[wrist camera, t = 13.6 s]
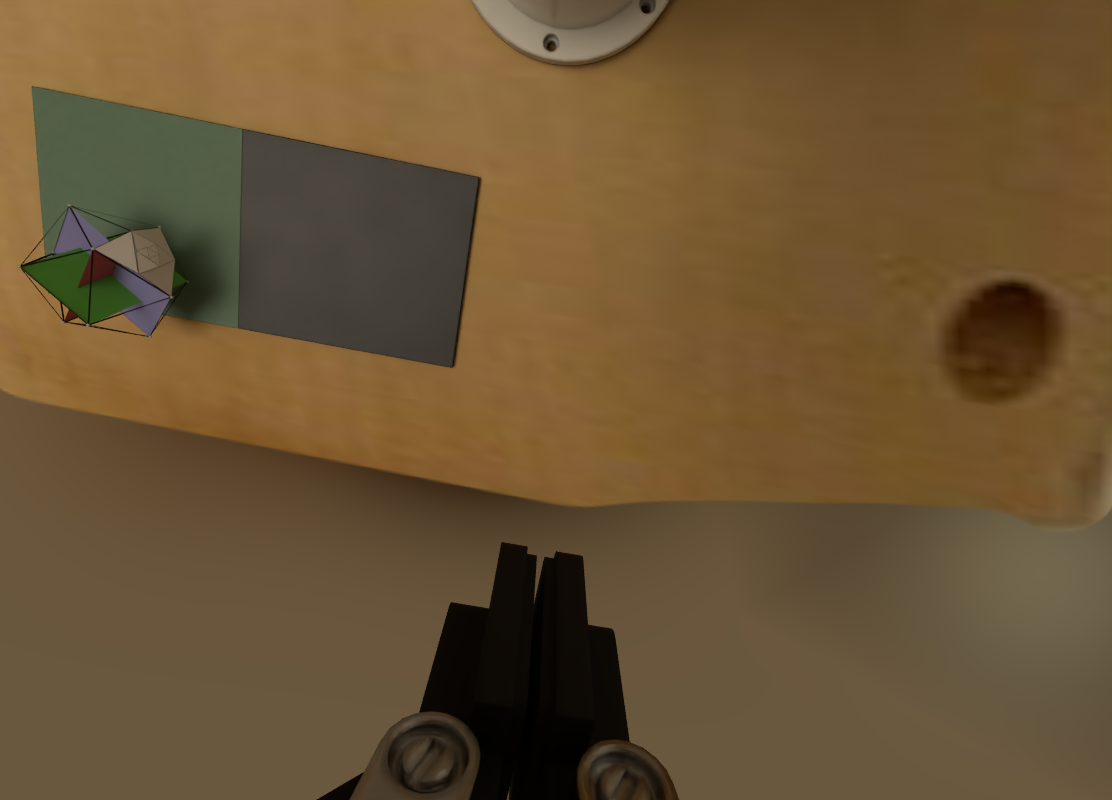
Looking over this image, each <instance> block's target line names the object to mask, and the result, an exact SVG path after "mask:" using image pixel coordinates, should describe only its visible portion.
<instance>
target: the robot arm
mask: <svg viewBox="0 0 1112 800" xmlns="http://www.w3.org/2000/svg"><path fill="white" fill-rule="evenodd" d="M471 1H472V3H473V5H474V6H475V8H476V10H477V11H478V13H479V15H480V16H481V18H482V19H483V20H484V21H485V22H486V24H487V25H488V26H489V27H490V28H491V29H492V31H493V32H494V33H495V34H496V35H497V36H498V37H500V38H501V39H502V40H503V41H505V42H506V43H507V44H508V45H510V46H511V47H512V48H513V49H515V50H517V51H519V52H521V53H523V54H525V55H527V56H529V57H531V58H533V59H536V60H539V61H543V62H547V63H550V64H554V65H574V66H575V65H581V64H588V63H594V62H597V61H600V60H603V59H605V58H608V57H610V56H613V55H615V54H617V53H619V52H620V51H622V50H623V49H625V48H626V47H628V46H630V45H631V44H633V43H634V42H635V41H637V40H638V39H639V38H640V37H641V36H642V35H643V34H644V33H645V32H646V31H647V30H648V29H649V28H650V27H651V26H652V25H653V24H654V22H655V21H656V19H657V18H658V17H659V15H660V14H661V12H662V11H663V10H664V8H665V7H666V5H667V3H668V1H669V0H471ZM644 5H646V6H648V7H649V9H650V12H649V13H648V14H645V13H643V12H642V10H641V7H642V6H644ZM549 43H554V44H555V46H556V48H555V50H554V51H549V50H548V49H547V45H548V44H549ZM527 549H528V547H527V546H521V545H515V544H510V543H504V542H502V543H501V548H500V553H499V558H498V564H497V569H496V575H495V580H494V586H493V590H492V596H491V601H490V607H489V608H483V607H477V606H471V605H465V604H458V603H452V602H451V603H450V606H449V609H448V612H447V616H446V619H445V623H444V626H443V630H442V633H441V637H440V641H439V644H438V648H437V651H436V655H435V659H434V662H433V666H432V669H431V673H430V676H429V680H428V683H427V687H426V690H425V694H424V697H423V701H422V704H421V708H420V712H419V713H416V714H413V715H410V716H408V717H405V718H403V719H401V720H400V721H399V722H397V723H396V724H395V725H393V726H392V727H391V728H390V729H389V730H388V731H387V733H386V734H385V735H384V737H383V738H382V739H381V741H380V743H379V745H378V747H377V748H376V750H375V752H374V754H373V756H372V758H371V760H370V762H369V764H368V766H367V768H366V769H365V771H364V772H363V773H361V774H360V775H358V776H356V777H354V778H353V779H351V780H349V781H348V782H346V783H344V784H343V785H341V786H339V787H338V788H336V789H334V790H333V791H331V792H329V793H327V794H326V795H324V796H322V797H321V798H319V799H317V800H507V796H508V792H509V800H679V798H678V795H677V792H676V790H675V787H674V784H673V782H672V780H671V778H670V776H669V774H668V772H667V770H666V769H665V768H664V766H663V765H662V764H661V763H660V762H659V760H658V759H657V758H656V757H655V756H653V755H652V754H651V753H649V752H648V751H647V750H645V749H644V748H642V747H640V746H638V745H636V744H633V743H631V742H630V741H629V734H628V727H627V720H626V712H625V705H624V698H623V690H622V683H621V676H620V668H619V661H618V654H617V646H616V639H615V634H614V631H613V630H612V629H610V628H604V627H598V626H592V625H588V619H587V605H586V591H585V579H584V565H583V556H580V555H574V554H568V553H562V552H557V551H556V553H555V556H554V558H549V557H545V558H544V561H543V565H542V570H541V575H540V579H539V584H538V589H537V593H536V598H535V602H534V593H535V577H536V561H537V556H536V555H531V554H527ZM509 788H510V789H509Z"/></svg>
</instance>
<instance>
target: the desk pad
mask: <svg viewBox="0 0 1112 800" xmlns="http://www.w3.org/2000/svg"><path fill="white" fill-rule="evenodd" d="M32 96H33V109H34V122H35V134H36V147H37V160H38V172H39V185H40V198H41V210H42V223H43V236H45V235H46V233H47V232H48V231H49V230H50V229H51V230H50V231H49V232H48V233H47V235H46V236H45V237H44V248H45V256H46V255H49V254H51V253H52V252H53V251H54V248H55V245H56V242H57V239H58V236H59V233H60V230H61V228H62V225H63V222H64V219H65V216H66V213H67V210H68V209H67V208H68V204H71V205H72V206H75V208H77V207H79V208H78V209H80V210H83V211H85V212H88V213H90V214H93V215H95V216H97V217H100V218H102V219H105V220H107V221H110V222H112V223H114V224H117V225H119V226H122V227H124V228H127V229H129V230H140V229H147V228H154V227H156V226H157V227H158V226H161V230H162V232H163V234H164V236H165V238H166V240H167V242H168V244H169V247H170V249H171V251H172V253H173V256H174V255H175V256H174V258H175V257H176V258H175V270H176V271H177V272H178V273H179V274H180V275H182V276H183V277H184V278H185V277H186V278H185V279H187V281H189V283H186V285H185V286H183V285H184V284H185V283H183V284H181V285H179V286H177V287H174V288H173V290H172V295H173V294H174V293H175V292H177V291H178V290H179V289H180V288H181V287H182V286H183V287H184V288H183V287H182V288H183V289H182V288H181V289H180V290H179V291H178V292H177V293H176V294H175V295H174V296H173V298H171V300H170V301H169V303H168V305H167V307H166V309H165V310H164V312H163V314H165V313H166V311H167V310H168V308H169V307H170V306H171V307H170V308H169V310H168V311H167V313H166V314H165V315H169V316H175V317H180V318H185V319H191V320H196V321H202V322H207V323H212V324H218V325H223V326H229V327H234V328H239V329H245V330H250V331H256V332H261V333H267V334H272V335H277V336H283V337H288V338H294V339H299V340H304V341H310V342H315V343H321V344H326V345H331V346H337V347H342V348H348V349H353V350H358V351H364V352H369V353H375V354H380V355H385V356H391V357H396V358H402V359H407V360H413V361H418V362H423V363H429V364H434V365H440V366H445V367H450V368H452V367H453V362H454V355H455V348H456V341H457V334H458V327H459V319H460V312H461V305H462V298H463V291H464V284H465V277H466V270H467V263H468V255H469V248H470V241H471V234H472V227H473V220H474V213H475V206H476V199H477V191H478V184H479V177H475V176H470V175H465V174H460V173H455V172H451V171H446V170H441V169H436V168H431V167H426V166H421V165H416V164H411V163H406V162H401V161H397V160H392V159H387V158H382V157H377V156H372V155H367V154H362V153H357V152H352V151H347V150H343V149H338V148H333V147H328V146H323V145H318V144H313V143H308V142H303V141H298V140H293V139H289V138H284V137H279V136H274V135H269V134H264V133H259V132H254V131H249V130H244V129H239V128H235V127H230V126H225V125H220V124H215V123H210V122H205V121H200V120H195V119H190V118H185V117H181V116H176V115H171V114H166V113H161V112H156V111H151V110H146V109H141V108H136V107H131V106H126V105H122V104H117V103H112V102H107V101H102V100H97V99H92V98H87V97H82V96H77V95H72V94H68V93H63V92H58V91H53V90H48V89H43V88H38V87H33V86H32ZM72 208H73V207H72ZM75 208H73V209H74V210H75V211H76V212H77V213H79V214H80V215H81V216H82V217H83V218H84V219H85V220H86V221H87V222H89V223H90V224H91V225H92V226H93V227H94V228H95V229H96V230H98V231H99V232H100V233H101V234H102V235H103V236H104V237H105V238H107V237H111V236H115V235H118V234H122V233H125V232H129V230H127V229H124V228H122V227H119V226H117V225H114V224H112V223H110V222H107V221H105V220H102V219H100V218H97V217H95V216H92V215H90V214H87V213H85V212H83V211H80V210H78V209H75ZM82 208H83V209H82ZM66 209H67V210H66ZM86 209H87V210H86ZM65 210H66V211H65ZM90 210H91V211H90ZM64 211H65V212H64ZM94 211H95V212H94ZM63 212H64V214H63ZM98 212H99V213H98ZM102 213H104V214H102ZM62 214H63V215H62ZM106 214H108V215H106ZM61 215H62V216H61ZM110 215H112V216H110ZM60 216H61V217H60ZM115 216H116V217H115ZM59 217H60V218H59ZM119 217H120V218H119ZM123 218H124V219H123ZM58 219H59V220H58ZM127 219H128V220H127ZM57 220H58V221H57ZM131 220H132V221H131ZM56 221H57V222H56ZM135 221H137V222H135ZM55 222H56V223H55ZM139 222H141V223H139ZM144 223H145V224H144ZM54 224H55V225H54ZM148 224H149V225H148ZM53 225H54V226H53ZM152 225H153V226H152ZM52 226H53V227H52ZM51 227H52V228H51ZM52 256H53V255H51V256H48V257H46V258H49V257H52ZM46 258H45V259H46ZM176 259H177V260H176ZM177 261H178V262H177ZM178 263H179V264H178ZM179 265H180V266H179ZM180 267H181V268H180ZM181 269H182V270H181ZM182 271H183V272H182ZM183 273H184V274H183ZM184 275H185V276H184ZM181 290H182V291H181ZM180 291H181V292H180ZM179 292H180V294H179ZM48 293H49V292H48ZM50 294H51V293H50ZM178 294H179V295H178ZM177 295H178V297H177ZM176 297H177V298H176ZM175 298H176V299H175ZM174 300H175V301H174ZM173 301H174V302H173ZM172 303H173V304H172ZM171 304H172V305H171Z"/></svg>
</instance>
